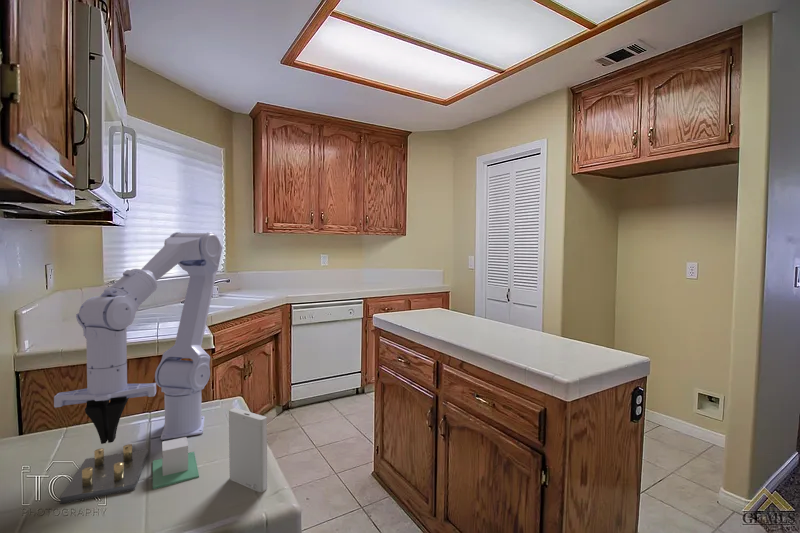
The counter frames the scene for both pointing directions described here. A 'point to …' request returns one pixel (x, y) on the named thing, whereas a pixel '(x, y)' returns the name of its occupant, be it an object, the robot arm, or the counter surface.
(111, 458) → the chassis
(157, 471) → the board
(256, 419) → the external hard drive
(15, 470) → the counter surface
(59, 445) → the counter surface
